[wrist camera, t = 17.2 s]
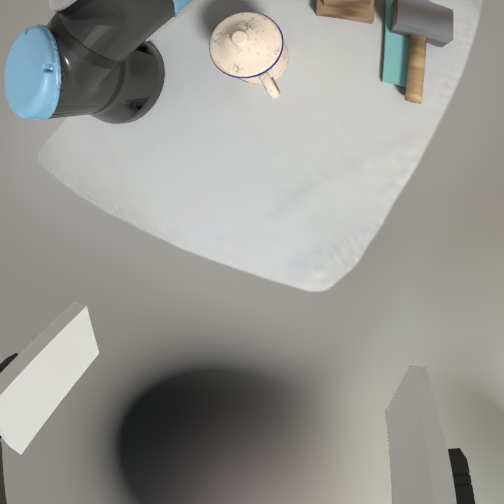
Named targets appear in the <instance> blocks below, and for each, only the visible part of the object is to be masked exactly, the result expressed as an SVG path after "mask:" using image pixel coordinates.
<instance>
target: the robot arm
mask: <svg viewBox="0 0 504 504" xmlns="http://www.w3.org/2000/svg"><path fill="white" fill-rule="evenodd" d="M191 1H192V0H49V5H50V9H52V10H53V11H56V12H57V13H56V14H55V15H54V16H53V18H52V19H51V20H50V22H49V23H48V24H47V25H46V26H45V25H40V24H39V25H36V26H32V27H30V28H28V29H26V30H24V31H23V32H22V33H21V34H20V35H19V36H18V38H17V39H16V40H15V42H14V44H13V45H12V48H11V50H10V52H9V55H8V58H7V62H6V66H5V78H4V88H5V94H6V98H7V101H8V104H9V106H10V108H11V109H12V111H13V112H14V113H15V114H16V115H18V116H19V117H21V118H24V119H40V120H46V119H50V118H57V117H67V116H77V115H89V114H90V115H92V116H94V117H96V118H98V119H100V120H102V121H104V122H107V123H112V124H120V123H129V122H132V121H135V120H137V119H139V118H141V117H142V116H143V115H145V114H146V113H147V112H148V111H149V110H150V109H151V108H152V107H153V105H154V104H155V103H156V101H157V99H158V97H159V95H160V93H161V91H162V87H163V83H164V76H165V70H164V63H163V60H162V57H161V55H160V53H159V52H158V50H157V49H156V48H155V47H154V46H153V45H152V44H150V43H149V42H146V41H145V40H146V39H147V38H149V37H150V36H151V34H153V33H154V32H155V31H156V30H158V28H160V27H161V26H162V25H164V24H165V23H166V22H167V21H168V20H170V19H171V18H172V17H176V16H177V15H178V13H179V11H180V10H182V9H183V8H184V7H185V6H186V5H188V4H189V3H190V2H191ZM98 354H99V351H98V347H97V344H96V341H95V337H94V333H93V329H92V325H91V321H90V318H89V313H88V309H87V306H85V305H82V304H79V303H76V302H73V303H72V304H71V305H70V306H69V307H68V308H67V309H66V310H65V311H63V312H62V313H61V314H60V315H59V316H58V317H57V318H56V319H55V320H54V321H53V322H52V323H50V324H49V325H48V326H47V327H46V328H45V329H44V330H43V331H42V332H41V333H40V334H39V335H38V336H37V337H36V338H35V339H34V340H33V341H32V342H31V343H30V344H29V345H28V346H27V347H26V348H25V349H24V350H23V351H22V352H21V353H20V354H17V353H15V354H13V355H12V356H10V357H8V358H6V359H5V360H4V361H3V362H2V363H1V364H0V439H1V437H2V438H3V439H4V440H5V442H6V443H7V444H8V445H9V446H10V447H11V448H13V449H14V450H16V451H17V452H18V453H20V454H22V453H23V451H24V450H25V449H26V447H27V446H28V444H29V443H30V441H31V440H32V439H33V438H34V436H35V435H36V434H37V432H38V431H39V429H40V428H41V427H42V425H43V424H44V423H45V421H46V420H47V419H48V417H49V416H50V415H51V413H52V412H53V411H54V410H55V408H56V407H57V406H58V404H59V403H60V402H61V400H62V399H63V398H64V397H65V395H66V394H67V393H68V391H69V390H70V389H71V388H72V386H73V385H74V384H75V382H76V381H77V380H78V379H79V378H80V376H81V375H82V374H83V373H84V371H85V370H86V369H87V368H88V366H89V365H90V364H91V363H92V361H93V360H94V359H95V357H96V356H97V355H98ZM385 413H386V422H387V431H388V442H389V454H390V468H391V486H392V487H391V489H392V504H475V500H474V494H473V488H472V485H471V477H470V475H469V467H468V463H467V459H466V457H465V456H464V454H463V453H462V451H461V450H460V448H457V449H447V444H446V439H445V434H444V430H443V426H442V421H441V417H440V413H439V409H438V406H437V401H436V398H435V394H434V390H433V387H432V383H431V380H430V376H429V373H428V369H427V367H420V366H409V368H408V370H407V372H406V374H405V376H404V378H403V380H402V382H401V384H400V385H399V387H398V389H397V391H396V393H395V394H394V396H393V398H392V400H391V402H390V403H389V405H388V407H387V409H386V410H385ZM2 464H3V463H2V446H1V442H0V504H7V503H6V497H5V488H4V477H3V465H2Z"/></svg>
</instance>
